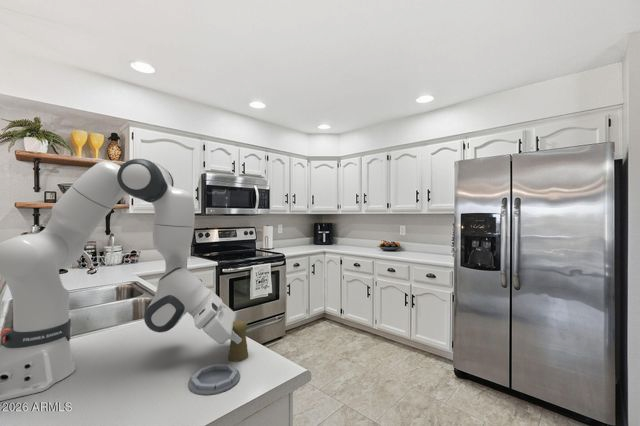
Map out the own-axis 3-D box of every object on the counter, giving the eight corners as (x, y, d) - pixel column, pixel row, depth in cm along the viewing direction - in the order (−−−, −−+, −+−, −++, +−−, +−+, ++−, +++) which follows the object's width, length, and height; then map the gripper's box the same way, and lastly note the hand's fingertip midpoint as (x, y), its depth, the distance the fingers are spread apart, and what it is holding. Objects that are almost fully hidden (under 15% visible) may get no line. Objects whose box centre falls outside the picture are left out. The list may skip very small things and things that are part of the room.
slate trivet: (199, 402, 70) (199, 395, 70) (181, 379, 79) (181, 373, 79) (248, 381, 79) (248, 375, 79) (226, 363, 88) (226, 357, 88)
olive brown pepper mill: (242, 362, 89) (243, 325, 89) (224, 360, 90) (224, 324, 90) (251, 353, 95) (251, 318, 95) (234, 351, 96) (234, 317, 96)
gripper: (205, 305, 100) (235, 332, 102) (193, 328, 80) (230, 361, 82) (219, 292, 101) (248, 318, 103) (211, 310, 81) (247, 343, 83)
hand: (240, 337), depth 93 cm, fingers open, 4 cm apart
